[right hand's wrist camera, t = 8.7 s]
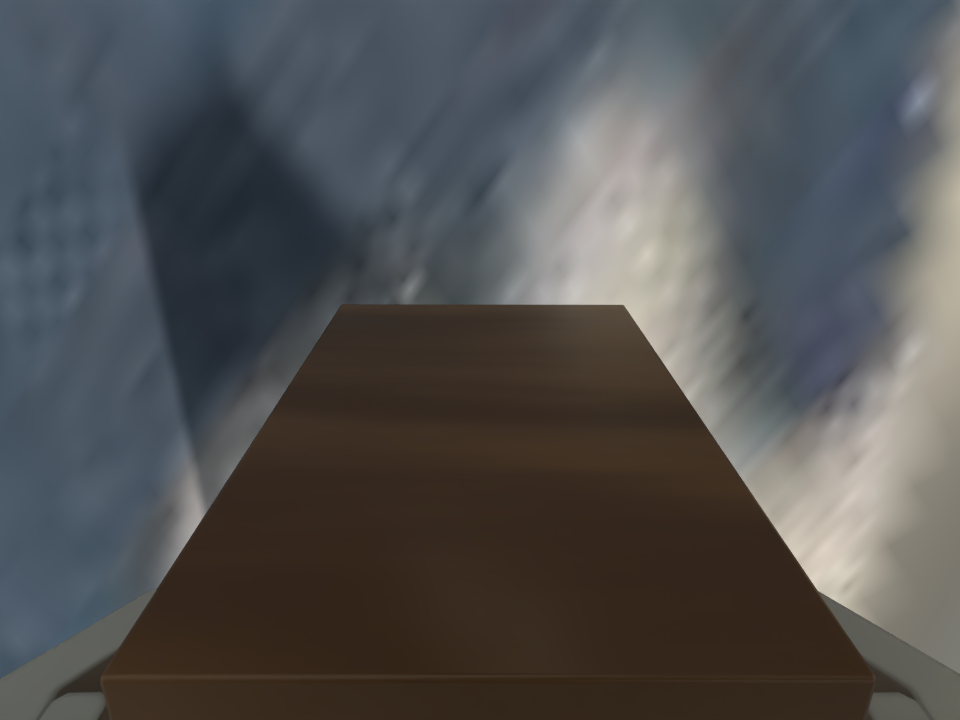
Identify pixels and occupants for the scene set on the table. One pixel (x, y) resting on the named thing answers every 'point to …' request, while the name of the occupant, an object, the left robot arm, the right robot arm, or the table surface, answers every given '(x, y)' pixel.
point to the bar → (486, 545)
